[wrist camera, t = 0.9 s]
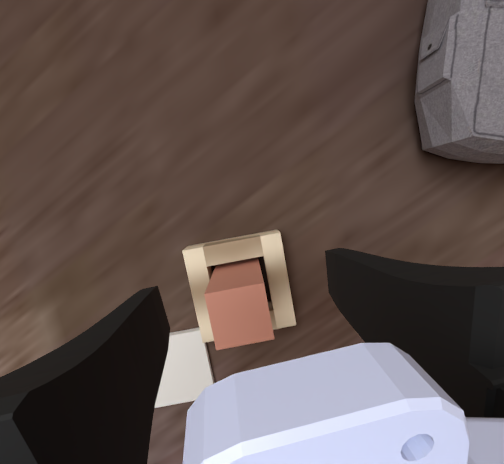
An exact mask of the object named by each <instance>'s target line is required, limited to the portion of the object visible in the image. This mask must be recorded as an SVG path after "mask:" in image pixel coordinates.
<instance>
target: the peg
mask: <svg viewBox="0 0 504 464" xmlns="http://www.w3.org/2000/svg"><path fill="white" fill-rule="evenodd" d="M204 296H205V300H206V305H207V309H208V314H209V319H210V323H211V328H212V333H213V337H214V342H215V347H216V350H220V349H226V348H231V347H236V346H241V345H247V344H252V343H257V342H262V341H268V340H273V339H274V334H273V328H272V323H271V318H270V312H269V307H268V301H267V296H266V291H265V285H264V281H263V276H262V272H261V268H260V264H259V260H258V257H256V258H250V259H245V260H240V261H234V262H229V263H224V264H218V265H216V266H215V269H214V271H213V274H212V276H211V279H210V281H209V284H208V286H207V289H206V291H205V293H204Z"/></svg>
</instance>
